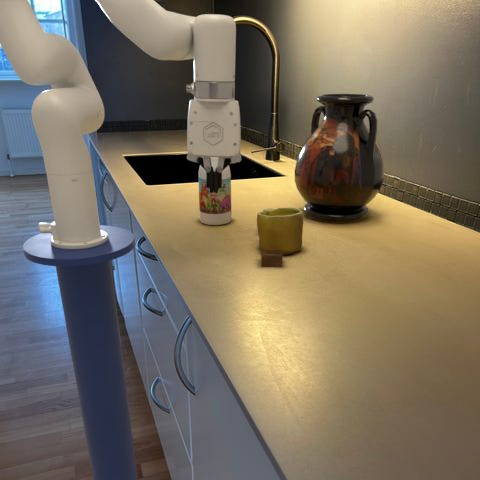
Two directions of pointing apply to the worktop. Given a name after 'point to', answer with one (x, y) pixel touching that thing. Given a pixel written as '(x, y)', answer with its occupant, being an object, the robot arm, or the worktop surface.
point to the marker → (271, 258)
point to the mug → (280, 229)
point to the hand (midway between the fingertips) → (214, 191)
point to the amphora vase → (340, 160)
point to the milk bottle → (215, 198)
